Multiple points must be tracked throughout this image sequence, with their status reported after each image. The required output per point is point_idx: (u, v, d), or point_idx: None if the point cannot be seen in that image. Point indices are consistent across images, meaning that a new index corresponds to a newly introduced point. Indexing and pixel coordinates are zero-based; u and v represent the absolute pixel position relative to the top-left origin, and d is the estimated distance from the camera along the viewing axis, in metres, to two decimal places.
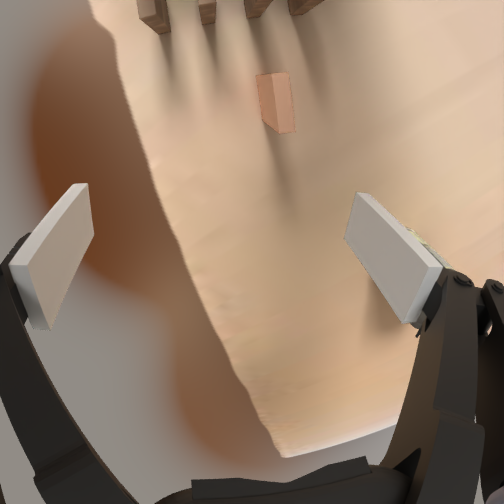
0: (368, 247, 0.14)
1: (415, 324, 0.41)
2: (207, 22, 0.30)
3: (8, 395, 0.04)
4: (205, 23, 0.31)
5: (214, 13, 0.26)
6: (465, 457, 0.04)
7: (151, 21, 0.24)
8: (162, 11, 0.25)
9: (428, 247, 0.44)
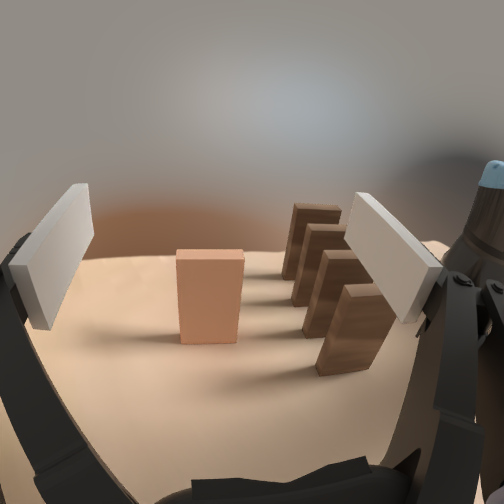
0: (368, 247, 0.14)
1: None
2: (293, 295, 0.40)
3: (8, 395, 0.04)
4: (292, 297, 0.41)
5: (302, 269, 0.37)
6: (465, 457, 0.04)
7: (292, 224, 0.41)
8: (302, 245, 0.42)
9: None
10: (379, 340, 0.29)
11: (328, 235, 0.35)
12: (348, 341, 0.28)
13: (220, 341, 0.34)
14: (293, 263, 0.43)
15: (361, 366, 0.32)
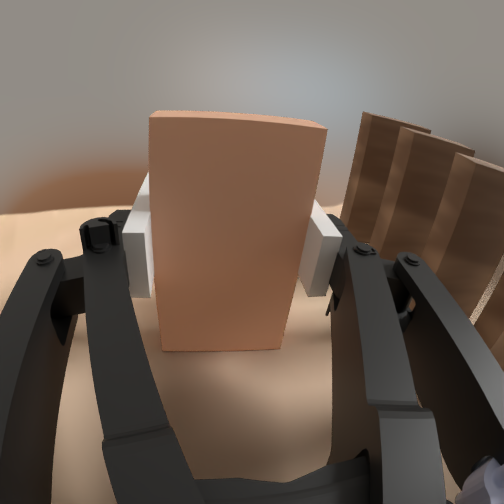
0: None
1: None
2: None
3: (99, 359, 0.06)
4: None
5: (392, 208, 0.19)
6: (420, 449, 0.04)
7: (360, 145, 0.23)
8: (374, 181, 0.24)
9: None
10: None
11: (437, 147, 0.17)
12: None
13: (247, 346, 0.16)
14: (359, 212, 0.25)
15: None
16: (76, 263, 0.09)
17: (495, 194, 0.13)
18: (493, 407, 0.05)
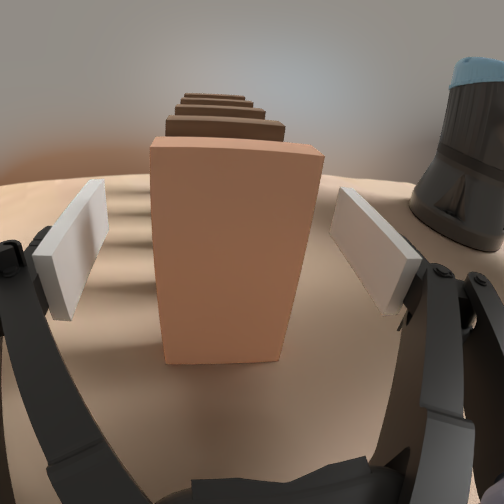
0: (351, 241, 0.14)
1: None
2: None
3: (26, 385, 0.05)
4: None
5: None
6: (456, 454, 0.04)
7: None
8: None
9: None
10: None
11: None
12: None
13: (247, 359, 0.16)
14: None
15: None
16: None
17: None
18: None
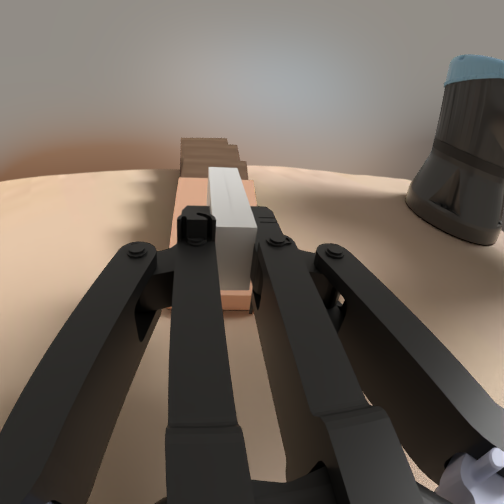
0: None
1: None
2: None
3: (179, 348, 0.06)
4: None
5: (180, 158, 0.36)
6: (381, 453, 0.04)
7: None
8: None
9: None
10: None
11: (197, 139, 0.39)
12: None
13: (239, 290, 0.18)
14: None
15: None
16: (166, 256, 0.10)
17: (206, 149, 0.34)
18: (457, 405, 0.05)
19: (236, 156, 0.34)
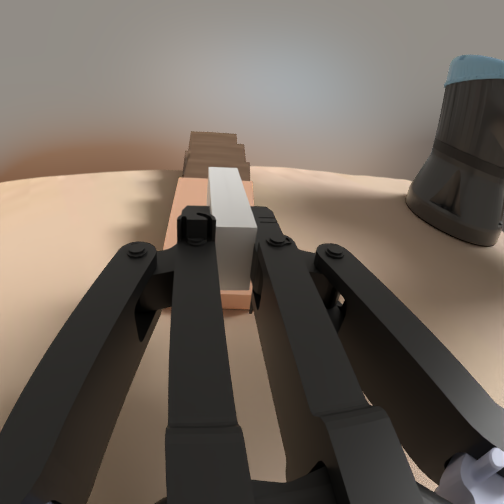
0: None
1: None
2: None
3: (178, 348, 0.06)
4: None
5: (188, 153, 0.36)
6: (381, 453, 0.04)
7: None
8: None
9: None
10: None
11: (207, 134, 0.40)
12: None
13: None
14: None
15: None
16: (166, 256, 0.10)
17: (213, 148, 0.35)
18: (456, 406, 0.05)
19: (242, 156, 0.34)
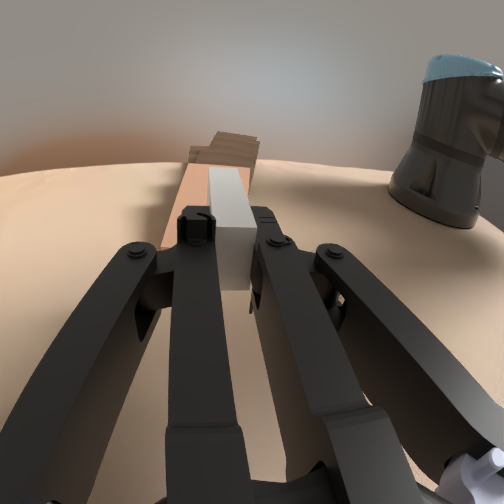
0: None
1: None
2: None
3: (179, 348, 0.06)
4: None
5: None
6: (381, 453, 0.04)
7: None
8: None
9: None
10: None
11: (230, 134, 0.45)
12: None
13: None
14: (194, 159, 0.43)
15: None
16: (166, 256, 0.10)
17: (231, 142, 0.39)
18: (456, 406, 0.05)
19: (255, 150, 0.39)
